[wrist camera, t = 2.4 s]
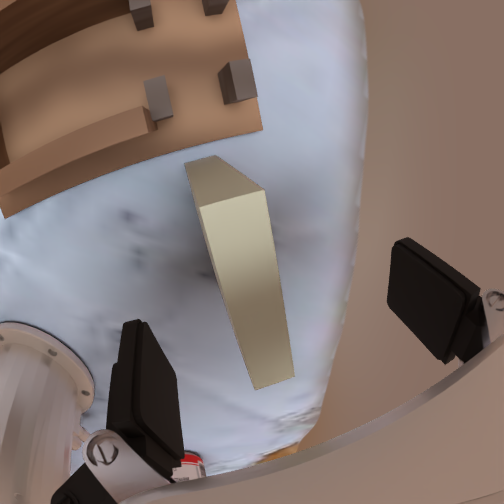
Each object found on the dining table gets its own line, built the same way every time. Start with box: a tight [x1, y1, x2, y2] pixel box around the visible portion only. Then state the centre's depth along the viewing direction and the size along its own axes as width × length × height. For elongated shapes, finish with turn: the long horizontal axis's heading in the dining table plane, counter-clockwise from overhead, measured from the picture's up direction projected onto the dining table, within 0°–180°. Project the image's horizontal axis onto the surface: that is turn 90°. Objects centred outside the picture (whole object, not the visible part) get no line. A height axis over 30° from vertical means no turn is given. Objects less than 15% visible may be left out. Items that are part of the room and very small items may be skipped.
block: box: [184, 155, 295, 390], centre depth 15 cm, size 9×3×10 cm, turn 11°
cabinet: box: [0, 0, 263, 219], centre depth 10 cm, size 12×18×8 cm, turn 101°
